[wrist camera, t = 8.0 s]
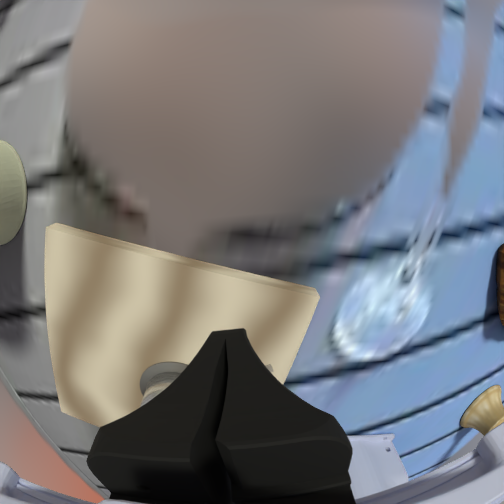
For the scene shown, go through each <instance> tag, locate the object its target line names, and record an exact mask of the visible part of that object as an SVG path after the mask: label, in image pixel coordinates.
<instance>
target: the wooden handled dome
mask: <svg viewBox="0 0 504 504" xmlns="http://www.w3.org/2000/svg"><path fill="white" fill-rule="evenodd" d="M180 374H181V373H178V372H163V373H159V374H157V375H155V376H153V377H152V378H151V379H150V380H149V382H148V385H147V388H146V391H145V393H144V396H143V399H142V402H141V405H140V407H141V406H143V405H145V404H146V403H148V402H149V401H150V400H152V399H153V398H154V397H156V396H157V395H158V394H160V393H161V392H162V391H163V390H165V389H166V388H167V387H168V386H169V385H170V384H171V383H172V382H173V381H174V380H175V379H176V378H177V377H178V376H179V375H180Z"/></svg>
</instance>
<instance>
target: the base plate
mask: <svg viewBox="0 0 504 504" xmlns="http://www.w3.org/2000/svg"><path fill="white" fill-rule="evenodd" d="M319 298H320V296H319V294H318V293H317V291H316V289H315V288H312V287H308V286H303V285H299V284H295V283H290V282H286V281H282V280H277V279H273V278H269V277H265V276H261V275H256V274H252V273H248V272H244V271H240V270H236V269H231V268H227V267H223V266H219V265H215V264H211V263H207V262H203V261H199V260H195V259H191V258H187V257H183V256H179V255H175V254H171V253H167V252H163V251H159V250H156V249H152V248H148V247H144V246H140V245H137V244H133V243H129V242H125V241H121V240H118V239H114V238H110V237H106V236H103V235H99V234H95V233H92V232H88V231H84V230H81V229H77V228H73V227H70V226H66V225H63V224H59V223H55V224H52V225H50V226H48V227H46V235H45V300H46V316H47V327H48V337H49V345H50V353H51V360H52V366H53V372H54V378H55V383H56V388H57V393H58V398H59V402H60V407H61V411H62V412H64V413H66V414H68V415H70V416H73V417H75V418H78V419H80V420H83V421H85V422H88V423H90V424H93V425H96V426H98V427H101V426H104V425H106V424H108V423H111V422H113V421H115V420H117V419H120V418H122V417H124V416H126V415H128V414H130V413H131V412H133V411H135V410H137V409H138V408H140V405H141V402H142V399H143V396H144V393H145V391H146V388H147V385H148V382H149V380H150V379H151V378H152V377H153V376H155V375H157V374H159V373H163V372H178V373H182V372H183V371H184V369H185V368H186V367H187V366H188V365H189V364H190V362H191V361H192V360H193V358H194V357H195V356H196V354H197V353H198V351H199V350H200V349H201V347H202V346H203V344H204V343H205V341H206V340H207V338H208V336H209V335H210V333H211V332H212V331H220V330H229V329H238V328H244V329H245V330H246V333H247V337H248V339H249V341H250V344H251V346H252V347H253V349H254V351H255V352H256V354H257V355H258V357H259V358H260V360H261V361H262V362H263V364H264V365H265V366H266V368H267V369H268V370H269V371H270V372H271V373H272V374H273V376H274V377H275V378H276V379H277V380H278V381H279V382H281V383H282V384H284V382H285V379H286V377H287V375H288V373H289V370H290V368H291V366H292V364H293V361H294V359H295V357H296V355H297V352H298V350H299V348H300V345H301V343H302V340H303V338H304V336H305V333H306V331H307V328H308V326H309V324H310V321H311V319H312V316H313V314H314V311H315V309H316V306H317V303H318V301H319Z"/></svg>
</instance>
